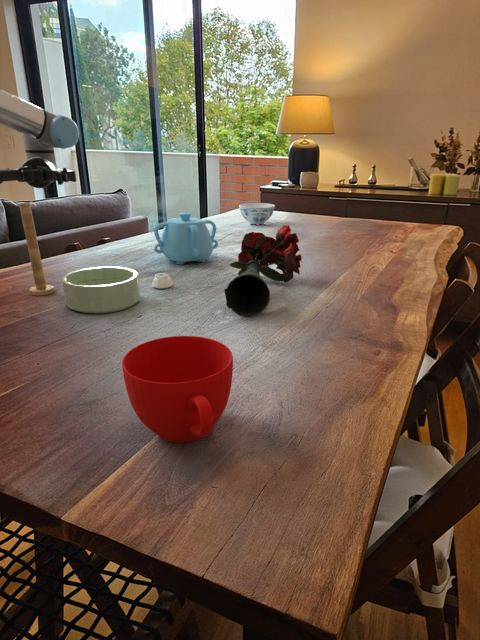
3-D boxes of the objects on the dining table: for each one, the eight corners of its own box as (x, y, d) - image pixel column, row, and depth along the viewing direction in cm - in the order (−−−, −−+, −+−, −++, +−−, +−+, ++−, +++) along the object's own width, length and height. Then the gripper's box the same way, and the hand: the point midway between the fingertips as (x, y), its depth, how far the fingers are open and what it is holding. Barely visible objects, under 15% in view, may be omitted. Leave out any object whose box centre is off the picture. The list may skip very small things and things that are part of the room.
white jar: (150, 284, 113) (154, 290, 109) (149, 273, 112) (153, 278, 108) (170, 282, 115) (175, 288, 111) (169, 271, 114) (174, 276, 110)
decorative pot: (224, 257, 141) (223, 211, 135) (195, 269, 128) (193, 219, 122) (181, 251, 147) (178, 207, 141) (149, 262, 134) (144, 214, 128)
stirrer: (26, 291, 107) (7, 203, 99) (49, 287, 110) (33, 201, 102) (34, 297, 104) (15, 205, 95) (57, 292, 107) (41, 203, 98)
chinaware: (276, 221, 201) (277, 203, 198) (271, 227, 188) (271, 208, 184) (243, 220, 203) (243, 202, 200) (235, 226, 190) (235, 206, 187)
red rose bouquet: (254, 350, 98) (260, 291, 128) (323, 299, 92) (313, 250, 122) (203, 297, 92) (223, 248, 123) (274, 239, 86) (276, 203, 117)
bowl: (55, 300, 102) (50, 274, 99) (120, 287, 111) (117, 263, 109) (84, 320, 91) (79, 291, 89) (153, 303, 101) (150, 277, 98)
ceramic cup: (151, 495, 47) (141, 413, 43) (122, 413, 61) (113, 345, 57) (264, 462, 52) (265, 386, 48) (213, 393, 66) (211, 329, 62)
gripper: (89, 186, 129) (86, 195, 110) (-10, 187, 122) (-31, 196, 103) (85, 157, 125) (82, 161, 107) (-17, 156, 119) (-39, 160, 100)
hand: (26, 178), depth 105 cm, fingers open, 13 cm apart
